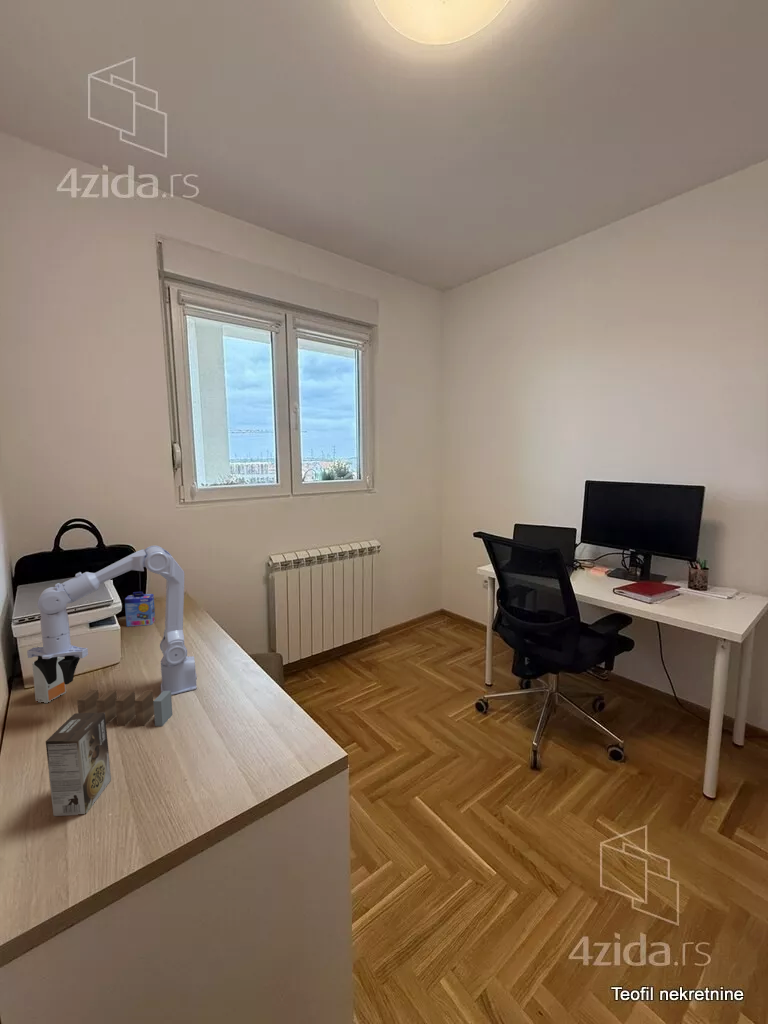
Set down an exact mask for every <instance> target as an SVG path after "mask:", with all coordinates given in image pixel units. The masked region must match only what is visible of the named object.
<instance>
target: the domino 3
mask: <svg viewBox="0 0 768 1024" xmlns="http://www.w3.org/2000/svg"><path fill="white" fill-rule="evenodd" d="M135 691H136V690H134V689H133V690H130V689H127V690H125V691H124V692H123V693H122V694H121V695H120V696H119V697H117V700H115V704H116V716H115V718H116V725H117V727H118V726H119V727H120V726H121V727H124V726H127V724H129V722H130V721H131V720H132V719H133V718H134V717H135V703H134V701H135V700H136V692H135Z"/></svg>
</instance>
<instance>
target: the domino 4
mask: <svg viewBox="0 0 768 1024" xmlns="http://www.w3.org/2000/svg"><path fill="white" fill-rule="evenodd" d="M153 701H154V690H152V689H150V690H144V691H143V692H142V693H141V694H140V695H139V696H138V697H137V698H135V701H134V703H135V716H134V717H135V726H136V727H144V726H145V725H147V723H148V722H149V721H150V720H151V719H152V717H154V703H153Z"/></svg>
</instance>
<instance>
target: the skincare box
mask: <svg viewBox="0 0 768 1024" xmlns="http://www.w3.org/2000/svg"><path fill="white" fill-rule="evenodd" d="M62 659H65V658H64V657H58V658H57V665H56V671H57V679H56V681H54V682H53V683H51V684H48V683H47V681H46V679H45V677H44V675H43V673H42V672H41V671H40V669H39V668H38V667H37V666H35V665H34V662H35V661H33V662H32V663H31V664H32V673H33V675H32V676H33V677H32V678H33V685H34V686H33V688H34V697H35V698H34V699H35V702H36V701H38V702H37V703H41V702H44V703H43V704H48V702H49V703H50V702H51V700H52V701H53V699H54V700H55V699H57V698H59V697H61V696H62V695H65V694H66V693H67V688H66V687H67V684H65V683H64V679H63V673H62V670H61V668H60V666H59V664H58V662H59V661H61V660H62ZM60 695H61V696H60Z"/></svg>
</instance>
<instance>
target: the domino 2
mask: <svg viewBox="0 0 768 1024" xmlns="http://www.w3.org/2000/svg"><path fill="white" fill-rule="evenodd" d="M117 693H118V692H117V690H116V689H109V690H107V691H106V692H105V693H103V694H102V695H101V696H99V699H97V700H96V704H97V713H105V720H106V726H107V725H108V724H110V722H111V721H113V720H114V718H116V704H115V700H117V699H118V696H117Z"/></svg>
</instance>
